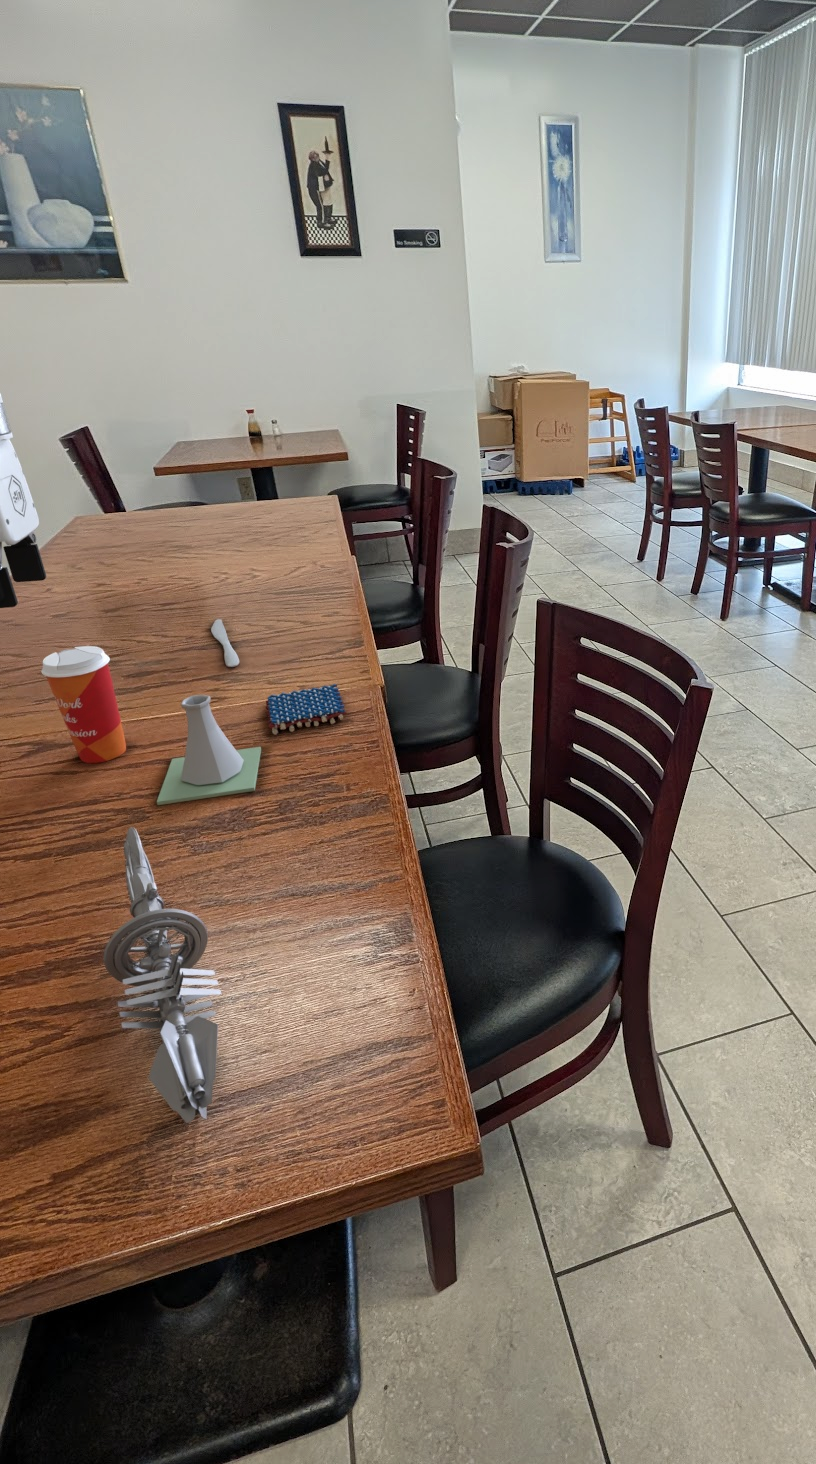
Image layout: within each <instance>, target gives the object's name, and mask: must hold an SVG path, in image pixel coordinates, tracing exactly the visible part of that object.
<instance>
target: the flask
mask: <svg viewBox="0 0 816 1464" xmlns="http://www.w3.org/2000/svg"><path fill="white" fill-rule="evenodd" d="M211 701H212V700H211V696H210V695H205V694H196V695H195V694H194V695H190V696H188V697H186V698H184V699H183V700H182V701H181V703H180V706H181V708H182V709H184V711H185V715H186V721H187V722H186V723H187V736H186V737H187V738H186V745H185V755H184V757H185V759H184V765H183V771H182V778H181V781H185V782H188V783H192V784H195V785H204V784H212V783H221V782H224V781H226V780H227V779H229V778H230V777H232V776H234V775H235V774H237V773H239V772H240V771H241V768H242V765H243V762H244V760H243V759H242V757H241V756H240V754H239V753H238V752H237V751H236V750H237V749H236V748H235V747H234V745H233V744H232V743H231V741H230V740H229V739H228V737H227V736H226V735H225V733H224V732H223V730H222V729H221V727H220V726H219V725H218V723H217V721H216V719H215V717H214V715H213V712H212V709H211V705H210V702H211Z"/></svg>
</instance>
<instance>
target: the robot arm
mask: <svg viewBox="0 0 816 1464" xmlns="http://www.w3.org/2000/svg"><path fill="white" fill-rule="evenodd" d="M12 439H14V435H13V432H12V428H11V425H10V422H9V418H8V414H7V411H6V408H5V403H4V401H3V396H2V393H1V392H0V609H7V608H15V607H16V606H17V605H18V604H19V601H18V597H17V594H16V592H15V588H14V585H13V582H12V580H13V581H14V582H15V583H27V582H41V581H45V580H46V578H47V573H46V570H45V567H44V563H43V560H42V556H41V552H40V549H39V546H38V543H37V536H36V534H35V532H34V531H35V530H36V529H37V528H38V527H39V525H40V519H39V514H38V512H37V509H36V505H35V502H34V499H33V496H32V494H31V491H30V488H29V487H30V486H29V485H28V482H27V479H26V476H25V473H24V470H23V468H22V465H21V462H20V459H19V457H18V454H17V453H16V449H15V447H14V445H13V443H12V442H11V440H12ZM3 542H4V543H5V544H6V545H3ZM3 551H4V554H5V557H6V561H7V564H8V566H5V567H3ZM8 567H9V569H8ZM9 571H10V572H9ZM10 574H11V575H10Z"/></svg>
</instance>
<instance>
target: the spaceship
mask: <svg viewBox="0 0 816 1464" xmlns="http://www.w3.org/2000/svg"><path fill="white" fill-rule="evenodd" d="M123 855H124V859H125V860H124V867H125V882H126V890H127V895H129V896H128V900H129V901H130V907H129V913H130V915H131V916H132V917H133V918H130V919H129V920H128V921H126V922H125V923H123V924H122V925H121V926H120V927H119V928H118V929H117V930H116V931H115V932H114V933H113V934H112V936H111V937H110V938H109V940H108V942H107V943H106V946H105V949H104V953H103V964H104V967H105V969H106V971H107V973H108V974H109V975H110V976H111V977H112V978H114V979H115V980H116V981H118V982H119V983H122V985H124V986H125V985H128V986H132V987H131V988H130V987H129V988H126V989H124V995H125V996H129V995H133V994H139V993H143V992H149V991H153V990H154V991H155V992H153V993H149V994H145V995H142V996H138V997H134V998H129V999H126V1000H119V1001H117V1006H118V1007H120V1008H121V1007H122V1008H152V1009H153V1008H154V1009H158V1010H135V1011H134V1010H133V1011H132V1010H131V1011H130V1010H129V1011H119V1017H120V1018H135V1019H137V1018H138V1019H139V1018H142V1019H143V1018H144V1019H157V1020H153V1021H152V1020H150V1021H123V1022H121V1028H123V1029H159V1034H160V1037H161V1040H162V1041H161V1042H162V1043H161V1044H160V1045H159V1046H158V1047H157V1051H156V1054H155V1057H154V1060H153V1063H152V1065H151V1068H150V1070H149V1071H150V1072H149V1073H148V1076H147V1077H148V1079H149V1081H150V1082H151V1083H152V1084H153V1086H154V1087H155V1089H156V1090H157V1092H158V1093H159V1094H160V1096H161V1097H162V1098H163V1099H164V1100H165V1102H166V1103H167V1104H168V1106H169V1107H170V1108H171V1110H172V1111H173V1112H177V1114H178V1115H179V1116H180V1117H181V1118H182V1120H183V1121H184V1123H186V1124H189V1123H191V1122H192V1121H193V1120H195V1117H197V1116H198V1115H200V1116H201V1118H203V1120H207V1119H208V1114H207V1113H208V1111H207V1108H208V1107H209V1105H211V1104H212V1102H213V1092H214V1091H213V1090H214V1080H215V1079H216V1076H217V1057H218V1039H219V1024H218V1023H216V1022H213V1021H211V1020H208V1018H212V1017H215V1016H216V1015H217V1013H216V1010H210V1011H204V1012H201V1013H196V1014H192V1015H187V1016H185V1014H187V1013H191V1012H194V1011H197V1010H201V1009H206V1008H209V1007H212V1006H213V1005H214V1004H213V1001H212V1000H207V1001H203V1002H198V1003H193V1004H189V1005H186V1003H188V1002H192V1001H195V1000H200V999H203V998H206V997H210V996H213V995H214V996H218V995H219V996H220V995H222V991H221V989H217V988H196V987H182V986H218V985H219V982H218V979H212V978H211V979H209V978H208V979H207V978H192V977H191V978H190V977H189V978H188V977H185V976H216V972H215V970H213V969H199V968H198V969H197V968H193V967H195V965H196V964H197V963H198V962H199V961H200V959H201V958H202V956H203V954H205V953H204V952H205V951H206V948H207V946H208V942H209V932H208V928H207V926H206V924H205V923H204V921H203V920H202V919H201V918H200V917H199V916H197V915H196V914H194V913H192V912H190V911H187V910H183V909H179V908H164V907H165V901H164V899H163V898H162V897H161V896H160V894H159V892H158V887H157V884H156V881H155V877H154V873H153V870H152V866H151V863H150V860H149V858H148V856H147V854H146V852H145V850H144V848H143V843H142V841H141V838H140V835H139V833H138V831H137V829H136V828H135V827H133V826H129V828H127V831H126V836H125V840H124V843H123ZM169 930H174V931H176V932H175V933H174V934H172V935H171V936H169V937H168V932H169ZM182 936H184V938H183V939H184V941H183V943H174V944H173V942H175V941H177V940H178V939H179V938H181V937H182ZM167 937H168V938H167ZM175 937H176V938H175ZM173 938H175V939H173ZM139 939H141V940H142V941H143V943H144V945H145V946H135V947H134V945H135V943H136V941H137V940H139ZM172 939H173V940H172ZM172 950H178V951H176V952H175V951H173V953H172ZM130 953H144V955H143V956H142V957H140V958H139V959H137V960H134V959H133V958H131V957H130V955H129V954H130Z"/></svg>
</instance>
